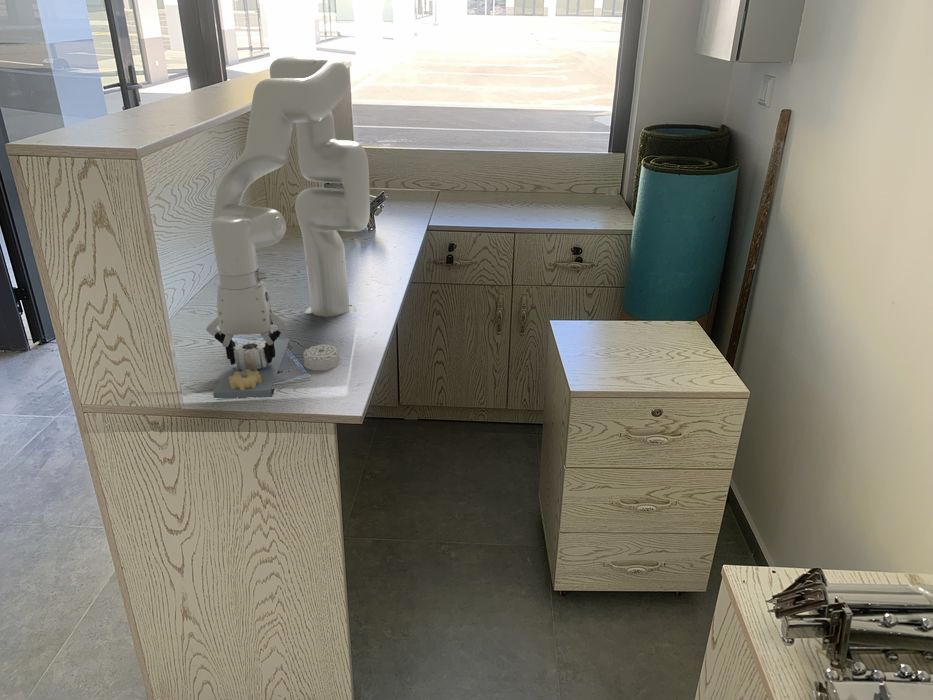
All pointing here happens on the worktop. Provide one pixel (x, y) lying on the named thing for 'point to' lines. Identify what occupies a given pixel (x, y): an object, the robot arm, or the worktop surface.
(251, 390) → the gear board
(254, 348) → the steel gear
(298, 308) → the worktop surface
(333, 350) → the mechanical component
